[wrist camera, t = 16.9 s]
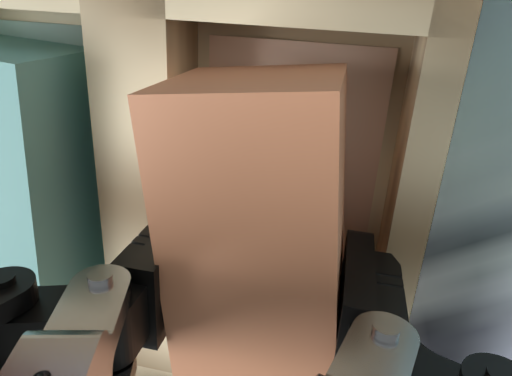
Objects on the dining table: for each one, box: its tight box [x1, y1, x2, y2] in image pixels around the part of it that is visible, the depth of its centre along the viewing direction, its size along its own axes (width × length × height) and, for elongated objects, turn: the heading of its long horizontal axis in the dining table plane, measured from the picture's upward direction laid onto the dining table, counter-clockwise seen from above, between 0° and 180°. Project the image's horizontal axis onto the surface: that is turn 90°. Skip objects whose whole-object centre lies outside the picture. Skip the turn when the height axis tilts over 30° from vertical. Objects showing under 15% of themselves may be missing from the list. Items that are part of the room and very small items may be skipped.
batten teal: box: [0, 34, 105, 286], centre depth 15 cm, size 10×4×4 cm, turn 174°
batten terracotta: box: [127, 63, 347, 376], centre depth 12 cm, size 10×4×4 cm, turn 3°
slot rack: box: [0, 0, 483, 376], centre depth 16 cm, size 20×17×4 cm
